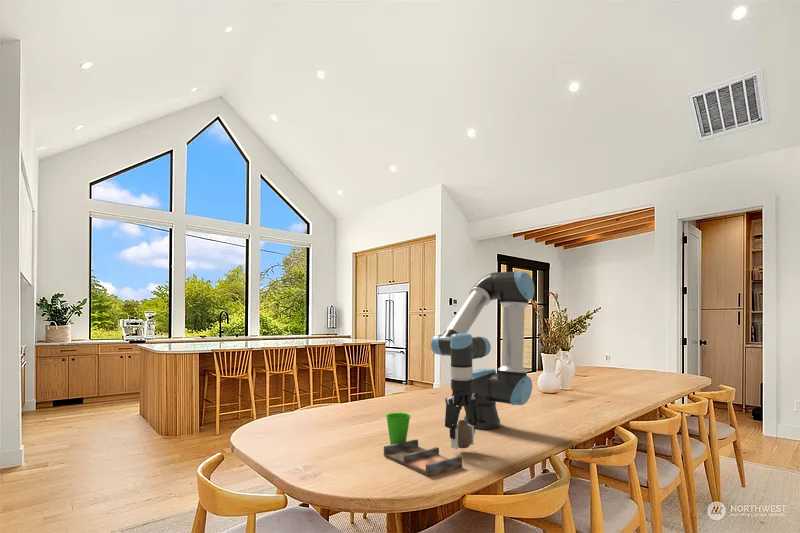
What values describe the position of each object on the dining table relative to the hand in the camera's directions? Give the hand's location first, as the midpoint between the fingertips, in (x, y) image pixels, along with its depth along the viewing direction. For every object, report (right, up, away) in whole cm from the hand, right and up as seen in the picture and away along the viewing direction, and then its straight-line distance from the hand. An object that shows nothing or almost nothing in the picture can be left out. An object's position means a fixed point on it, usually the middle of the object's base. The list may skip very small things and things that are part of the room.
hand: (462, 445), depth 164 cm
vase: (0, -1, 0) cm, 1 cm away
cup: (-22, -3, +5) cm, 23 cm away
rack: (-15, -1, -10) cm, 18 cm away
